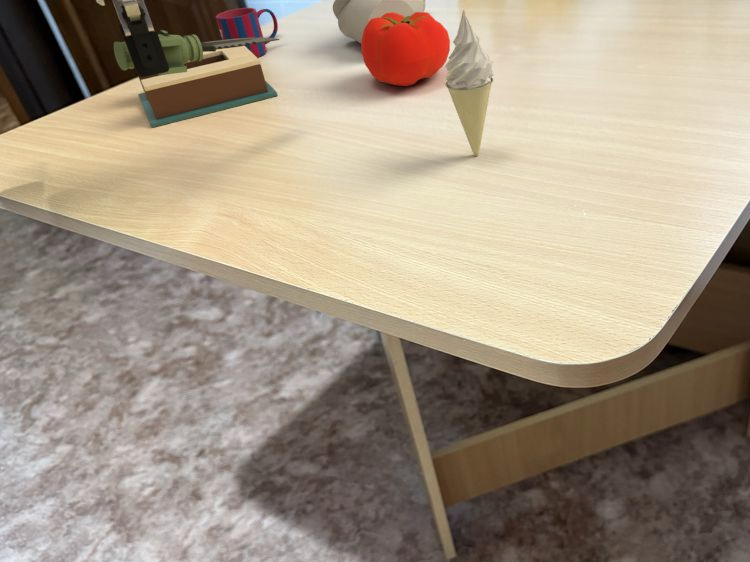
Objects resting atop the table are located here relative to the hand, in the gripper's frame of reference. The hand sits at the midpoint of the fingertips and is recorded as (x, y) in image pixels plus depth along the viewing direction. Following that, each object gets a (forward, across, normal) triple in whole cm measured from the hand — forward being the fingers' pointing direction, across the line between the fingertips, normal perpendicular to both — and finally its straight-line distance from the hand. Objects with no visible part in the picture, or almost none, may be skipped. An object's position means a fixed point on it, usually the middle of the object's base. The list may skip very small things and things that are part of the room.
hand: (150, 65), depth 74 cm
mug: (+12, -46, +18) cm, 51 cm away
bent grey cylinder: (+12, -36, +40) cm, 55 cm away
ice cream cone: (+12, +18, +29) cm, 36 cm away
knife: (+1, -2, +6) cm, 6 cm away
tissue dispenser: (+12, -28, +7) cm, 31 cm away
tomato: (+12, -12, +34) cm, 38 cm away
